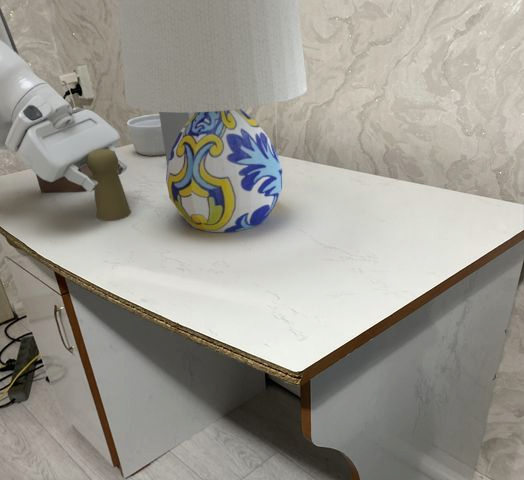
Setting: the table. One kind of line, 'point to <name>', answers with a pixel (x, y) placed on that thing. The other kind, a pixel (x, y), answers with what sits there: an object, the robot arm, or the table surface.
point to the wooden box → (63, 183)
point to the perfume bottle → (172, 128)
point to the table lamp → (215, 97)
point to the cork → (107, 185)
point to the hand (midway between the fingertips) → (109, 179)
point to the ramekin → (147, 135)
